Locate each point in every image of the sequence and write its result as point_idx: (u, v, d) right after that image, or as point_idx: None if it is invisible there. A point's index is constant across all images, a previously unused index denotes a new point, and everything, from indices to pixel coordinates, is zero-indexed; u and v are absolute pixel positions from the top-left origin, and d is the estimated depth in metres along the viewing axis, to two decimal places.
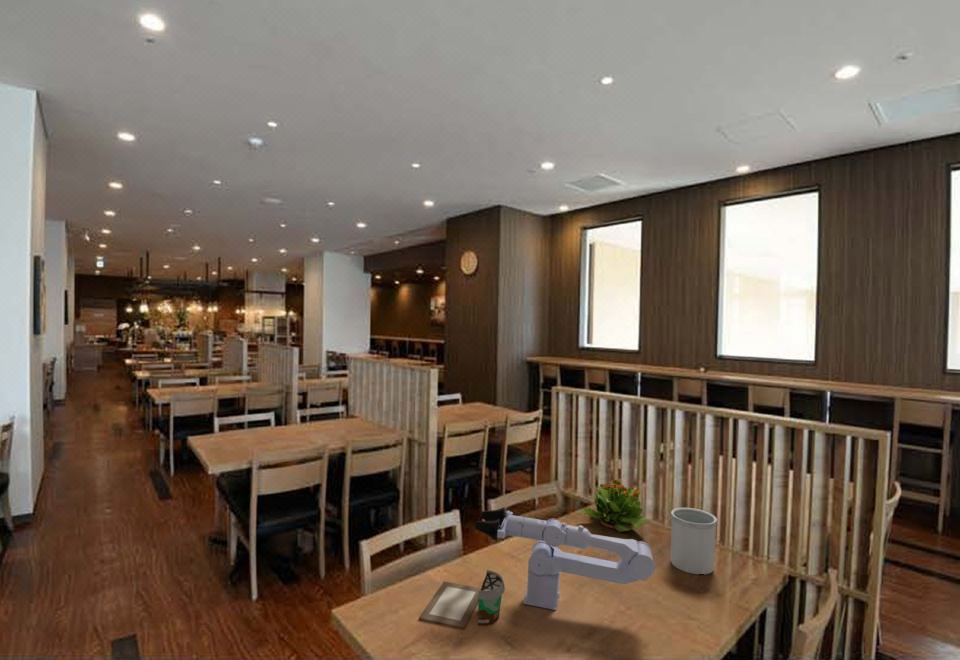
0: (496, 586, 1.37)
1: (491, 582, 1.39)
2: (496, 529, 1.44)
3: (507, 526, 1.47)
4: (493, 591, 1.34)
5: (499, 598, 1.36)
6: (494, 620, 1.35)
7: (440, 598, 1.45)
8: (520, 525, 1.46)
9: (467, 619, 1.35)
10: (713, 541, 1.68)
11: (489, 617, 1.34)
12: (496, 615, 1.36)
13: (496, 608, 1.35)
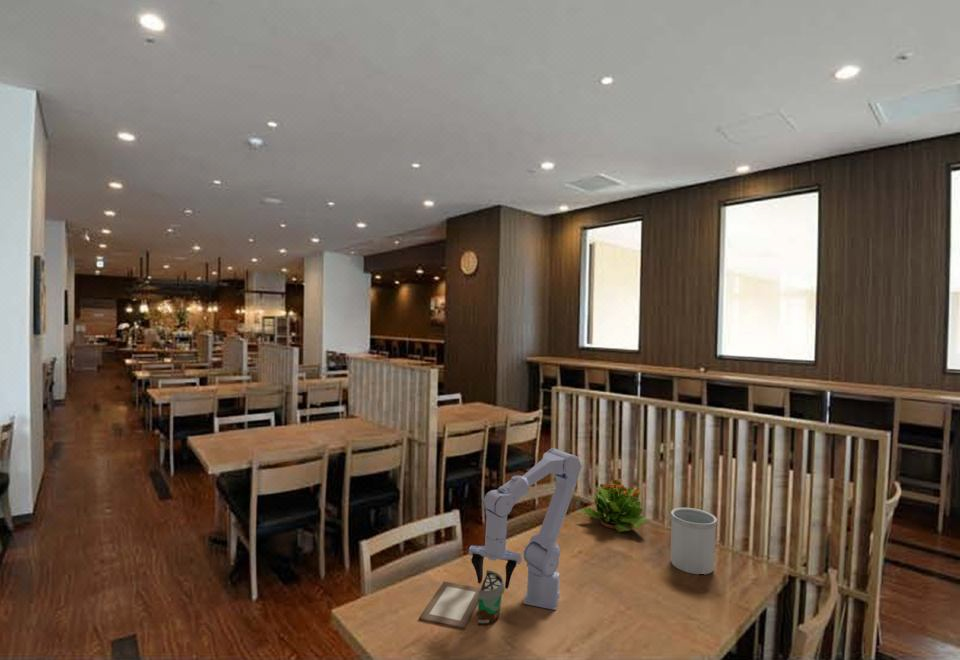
0: (496, 586, 1.37)
1: (491, 582, 1.39)
2: (515, 565, 1.35)
3: (504, 553, 1.36)
4: (493, 591, 1.34)
5: (499, 598, 1.36)
6: (494, 620, 1.35)
7: (440, 598, 1.45)
8: (503, 540, 1.36)
9: (467, 619, 1.35)
10: (713, 541, 1.68)
11: (489, 617, 1.34)
12: (496, 615, 1.36)
13: (496, 608, 1.35)
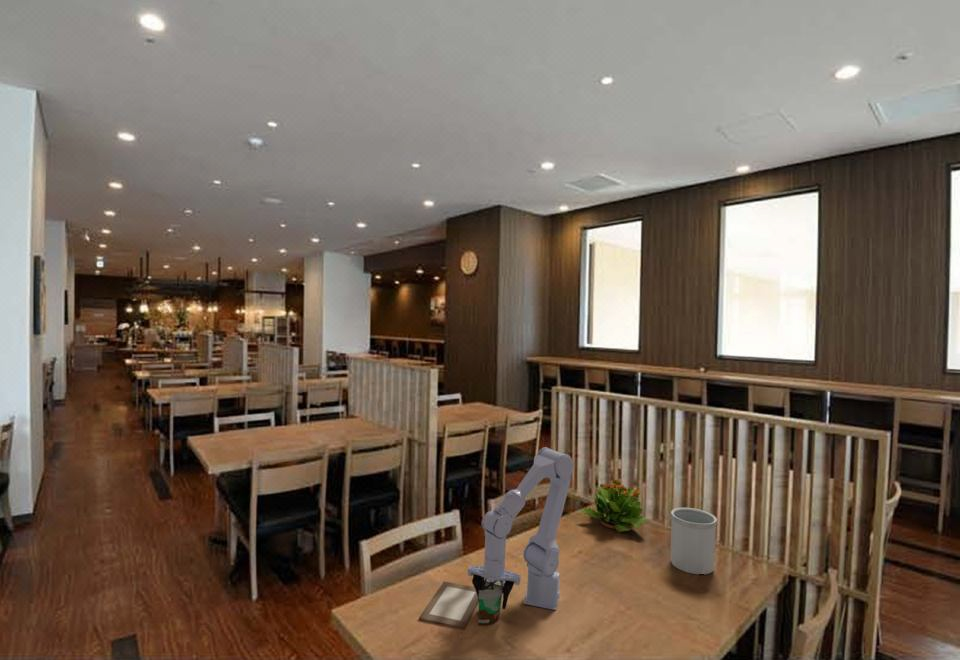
0: (496, 586, 1.37)
1: (492, 582, 1.39)
2: None
3: (503, 574, 1.36)
4: (493, 591, 1.34)
5: (499, 598, 1.36)
6: (494, 620, 1.35)
7: (440, 598, 1.45)
8: (502, 561, 1.36)
9: (467, 619, 1.35)
10: (713, 541, 1.68)
11: (490, 617, 1.34)
12: (496, 615, 1.36)
13: (496, 608, 1.35)
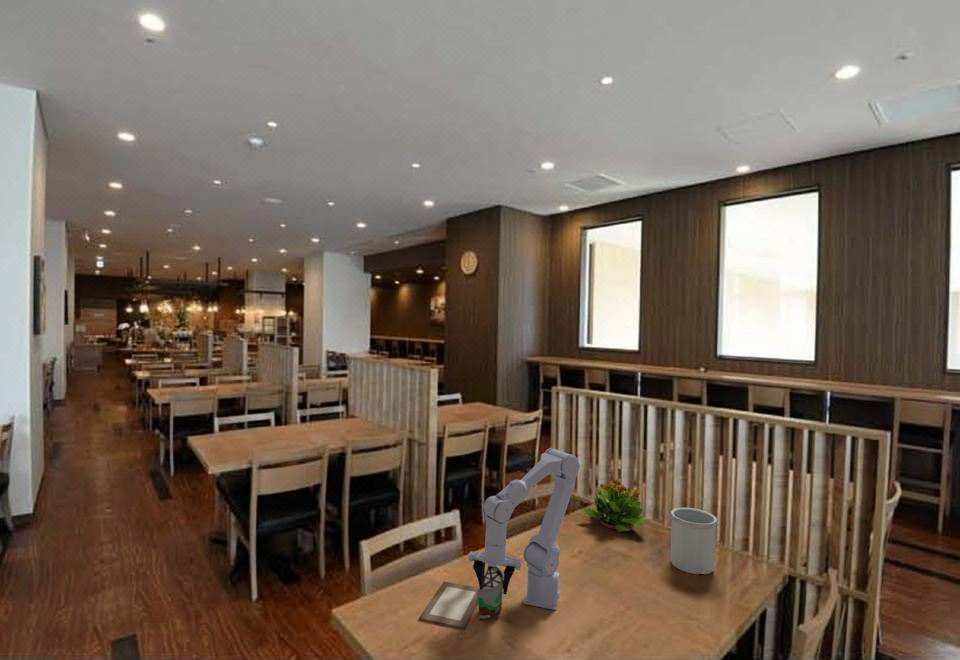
0: (496, 582, 1.37)
1: (492, 578, 1.38)
2: None
3: (504, 559, 1.36)
4: (492, 589, 1.33)
5: (499, 594, 1.36)
6: (495, 614, 1.36)
7: (440, 598, 1.45)
8: (502, 546, 1.36)
9: (467, 619, 1.35)
10: (713, 541, 1.68)
11: (490, 613, 1.35)
12: (497, 610, 1.36)
13: (497, 604, 1.36)
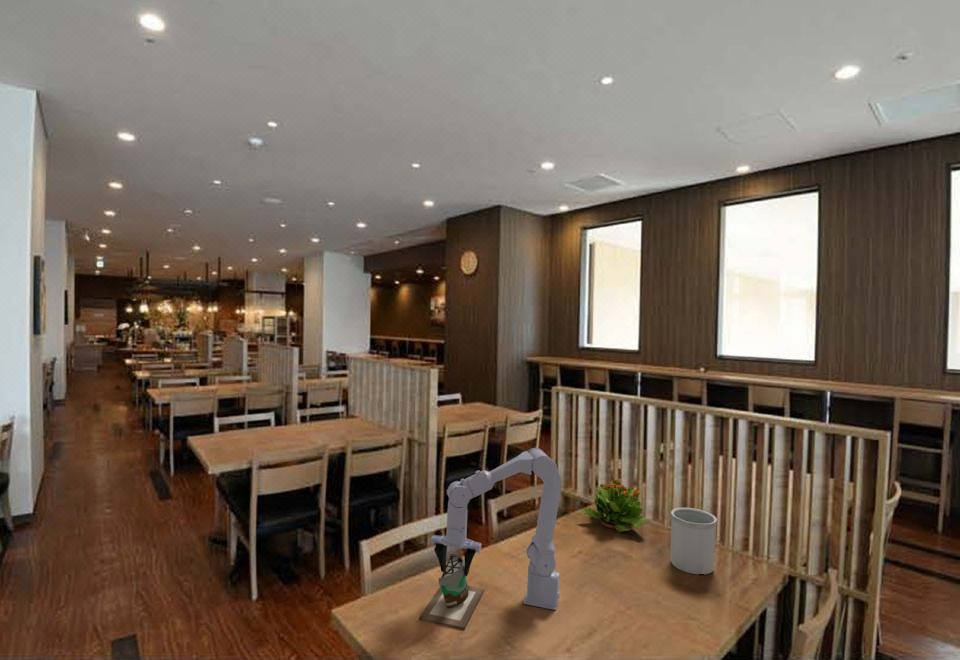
0: (457, 569, 1.42)
1: (453, 566, 1.44)
2: (474, 553, 1.41)
3: (464, 542, 1.41)
4: (452, 575, 1.39)
5: (462, 579, 1.41)
6: (462, 599, 1.41)
7: (440, 598, 1.45)
8: (463, 530, 1.41)
9: (467, 619, 1.35)
10: (713, 541, 1.68)
11: (456, 598, 1.40)
12: (463, 594, 1.41)
13: (461, 589, 1.41)
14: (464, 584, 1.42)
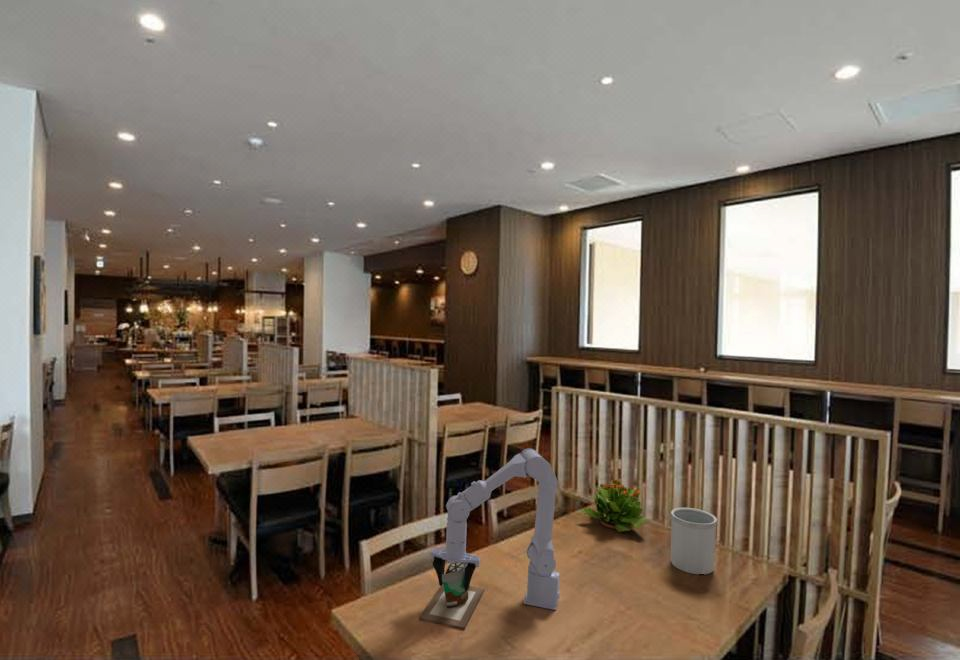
0: (460, 568, 1.43)
1: (456, 566, 1.45)
2: (474, 568, 1.41)
3: (464, 556, 1.42)
4: (456, 573, 1.40)
5: (464, 579, 1.42)
6: (462, 601, 1.41)
7: (440, 598, 1.45)
8: (462, 544, 1.41)
9: (467, 619, 1.35)
10: (713, 541, 1.68)
11: (457, 598, 1.40)
12: (464, 596, 1.42)
13: (462, 589, 1.42)
14: None
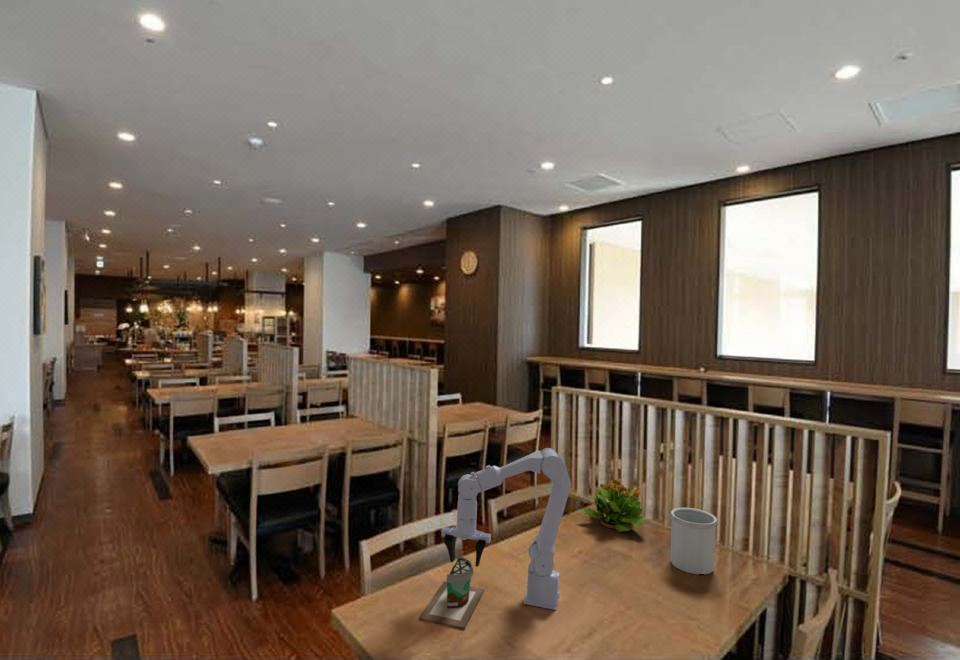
0: (465, 571, 1.43)
1: (461, 568, 1.45)
2: (485, 544, 1.45)
3: (474, 533, 1.45)
4: (461, 575, 1.40)
5: (467, 582, 1.42)
6: (463, 603, 1.41)
7: (440, 598, 1.45)
8: (473, 521, 1.45)
9: (467, 619, 1.35)
10: (713, 541, 1.68)
11: (458, 600, 1.40)
12: (465, 598, 1.42)
13: (464, 592, 1.41)
14: (468, 588, 1.43)
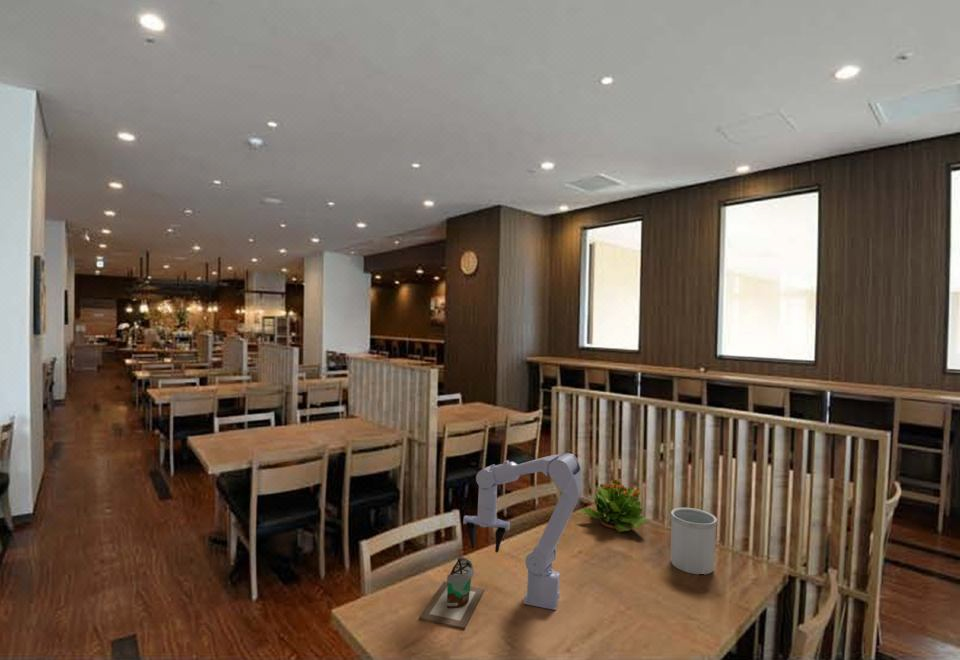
0: (465, 571, 1.43)
1: (461, 568, 1.45)
2: (504, 531, 1.54)
3: (494, 521, 1.55)
4: (461, 575, 1.40)
5: (468, 582, 1.42)
6: (463, 603, 1.41)
7: (440, 598, 1.45)
8: (493, 510, 1.54)
9: (467, 619, 1.35)
10: (713, 541, 1.68)
11: (458, 600, 1.40)
12: (465, 599, 1.42)
13: (465, 592, 1.41)
14: (468, 588, 1.43)
